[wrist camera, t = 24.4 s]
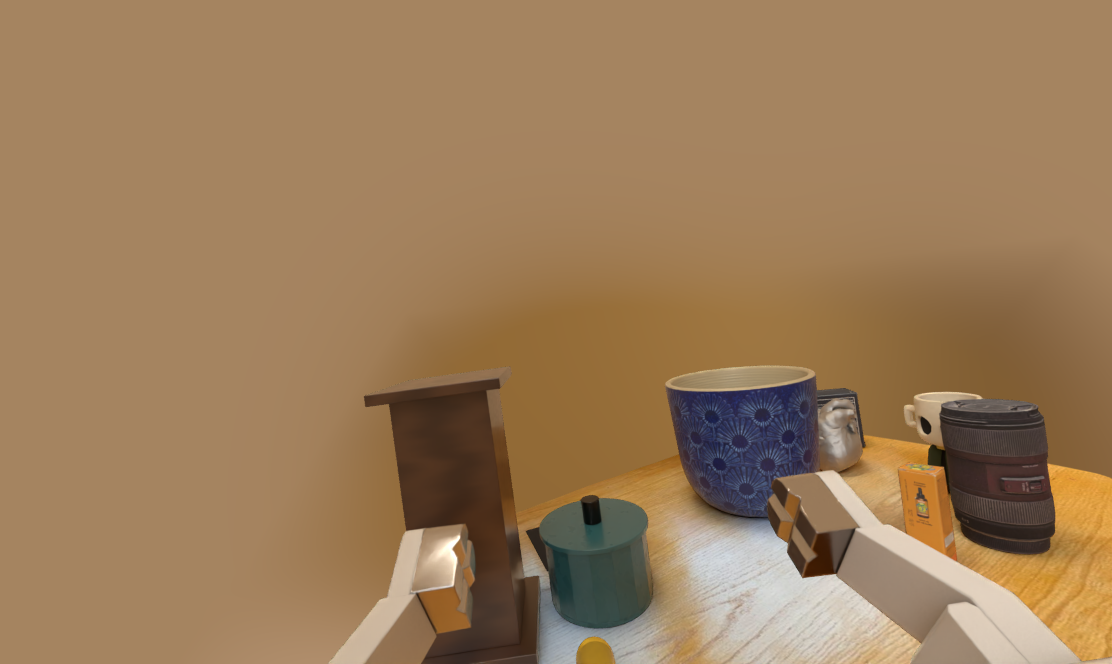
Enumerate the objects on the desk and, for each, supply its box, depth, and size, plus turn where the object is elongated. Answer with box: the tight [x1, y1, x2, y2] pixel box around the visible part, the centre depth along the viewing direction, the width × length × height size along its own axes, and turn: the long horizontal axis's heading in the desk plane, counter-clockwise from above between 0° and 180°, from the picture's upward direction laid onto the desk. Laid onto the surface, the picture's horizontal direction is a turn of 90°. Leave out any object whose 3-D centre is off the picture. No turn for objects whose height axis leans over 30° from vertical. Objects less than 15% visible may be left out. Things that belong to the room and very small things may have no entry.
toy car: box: [526, 527, 549, 571], centre depth 59 cm, size 8×6×2 cm
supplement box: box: [898, 462, 957, 562], centre depth 44 cm, size 3×3×10 cm
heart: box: [818, 399, 863, 473], centre depth 71 cm, size 10×10×12 cm
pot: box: [545, 532, 653, 628], centre depth 46 cm, size 11×11×8 cm
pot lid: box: [539, 495, 648, 555], centre depth 46 cm, size 12×12×4 cm
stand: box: [364, 367, 540, 664], centre depth 43 cm, size 12×12×26 cm
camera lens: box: [939, 399, 1055, 554], centre depth 46 cm, size 8×8×15 cm
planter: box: [665, 366, 820, 517], centre depth 63 cm, size 21×21×19 cm
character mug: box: [904, 392, 982, 491], centre depth 58 cm, size 11×7×13 cm, turn 22°
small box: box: [817, 388, 865, 447], centre depth 82 cm, size 11×6×10 cm, turn 73°
